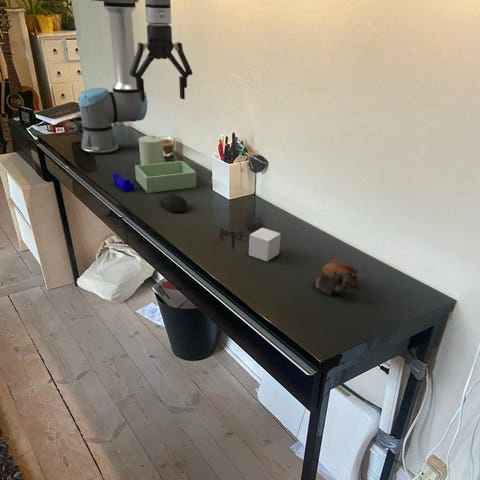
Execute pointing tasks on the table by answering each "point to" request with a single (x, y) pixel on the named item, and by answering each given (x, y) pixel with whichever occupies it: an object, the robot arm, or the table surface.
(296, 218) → the table surface
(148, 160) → the can
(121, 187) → the cable holder
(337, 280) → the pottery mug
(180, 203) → the gaming mouse
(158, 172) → the bin
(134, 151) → the table surface
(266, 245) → the white cube
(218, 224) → the table surface
